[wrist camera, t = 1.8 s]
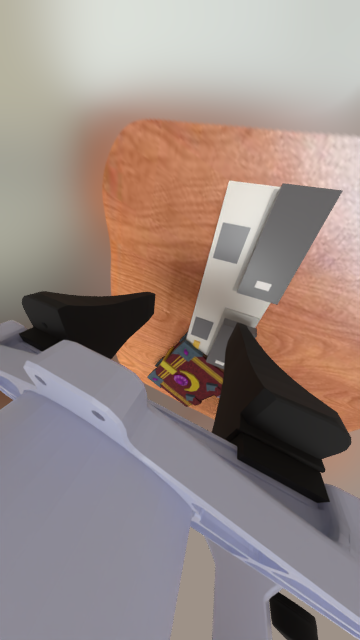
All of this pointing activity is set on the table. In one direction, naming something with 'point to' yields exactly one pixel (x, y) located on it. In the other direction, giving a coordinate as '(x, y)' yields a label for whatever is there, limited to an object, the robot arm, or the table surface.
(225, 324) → the rocker inboard
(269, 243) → the rocker outer
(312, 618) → the beverage bottle
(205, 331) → the base
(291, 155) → the table surface
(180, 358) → the decorative book
